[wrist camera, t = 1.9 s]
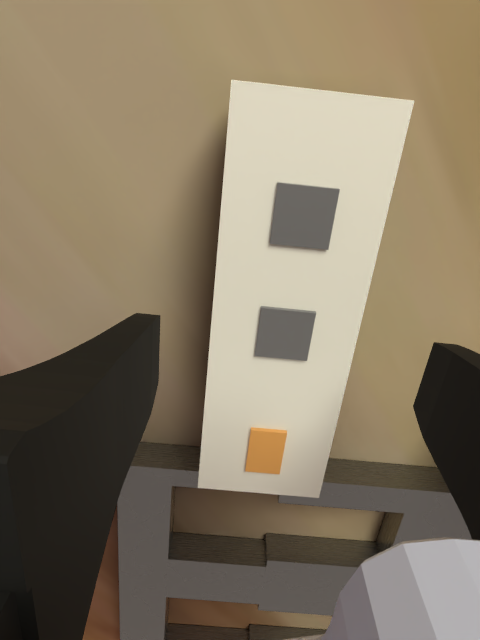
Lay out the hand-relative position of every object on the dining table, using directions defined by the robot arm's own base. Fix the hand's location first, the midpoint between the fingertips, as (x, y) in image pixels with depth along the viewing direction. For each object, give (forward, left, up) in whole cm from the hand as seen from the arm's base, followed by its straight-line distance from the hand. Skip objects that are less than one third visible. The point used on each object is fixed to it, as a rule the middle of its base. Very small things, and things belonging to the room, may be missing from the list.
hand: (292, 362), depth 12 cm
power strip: (0, 0, -7) cm, 7 cm away
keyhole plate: (+3, -17, -7) cm, 18 cm away
